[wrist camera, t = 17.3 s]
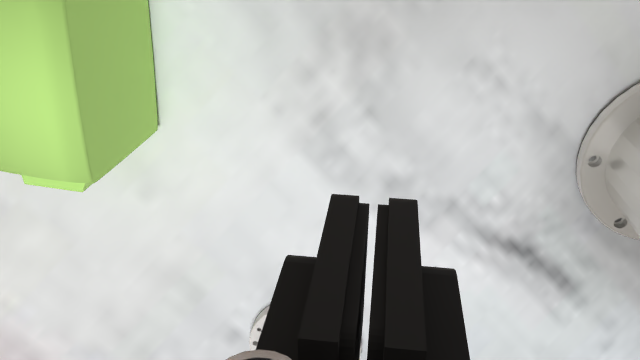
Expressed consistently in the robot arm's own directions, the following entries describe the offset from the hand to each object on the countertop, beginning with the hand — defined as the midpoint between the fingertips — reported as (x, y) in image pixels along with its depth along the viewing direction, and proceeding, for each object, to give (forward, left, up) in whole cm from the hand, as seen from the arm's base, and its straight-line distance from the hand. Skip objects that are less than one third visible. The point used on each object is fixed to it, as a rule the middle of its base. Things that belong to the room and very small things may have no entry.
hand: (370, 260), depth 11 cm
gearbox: (+20, +2, -26) cm, 33 cm away
